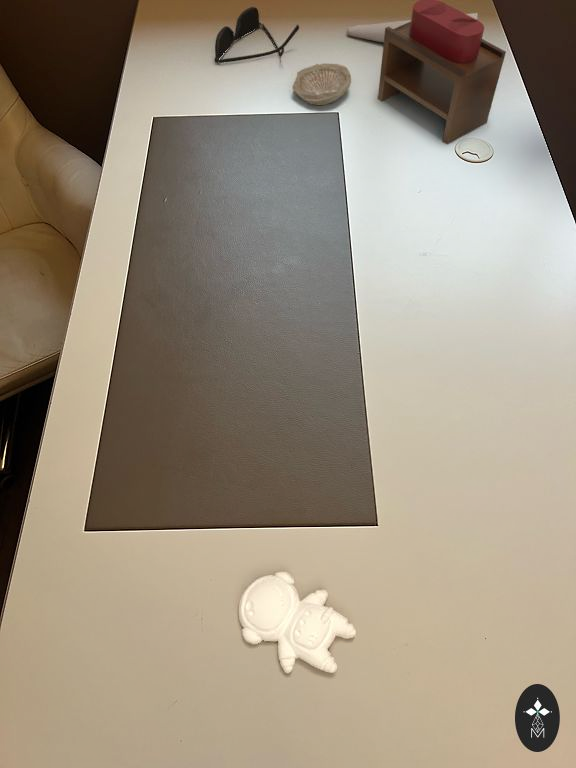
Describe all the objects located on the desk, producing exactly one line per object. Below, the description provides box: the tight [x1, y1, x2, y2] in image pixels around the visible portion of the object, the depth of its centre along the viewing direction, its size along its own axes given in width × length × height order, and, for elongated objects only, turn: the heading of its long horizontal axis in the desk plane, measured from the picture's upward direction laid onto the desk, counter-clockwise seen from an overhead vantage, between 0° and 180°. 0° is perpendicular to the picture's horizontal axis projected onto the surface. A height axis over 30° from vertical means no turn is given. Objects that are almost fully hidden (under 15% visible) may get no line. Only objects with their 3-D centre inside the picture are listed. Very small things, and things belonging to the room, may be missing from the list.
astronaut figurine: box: [238, 571, 357, 674], centre depth 63 cm, size 9×12×3 cm
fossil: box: [292, 63, 352, 106], centre depth 117 cm, size 10×12×3 cm
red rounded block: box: [409, 0, 485, 63], centre depth 102 cm, size 14×6×4 cm, turn 38°
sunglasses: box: [213, 6, 300, 64], centre depth 124 cm, size 17×14×5 cm
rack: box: [377, 22, 507, 145], centre depth 109 cm, size 10×18×13 cm, turn 37°
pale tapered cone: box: [346, 12, 479, 44], centre depth 124 cm, size 8×9×26 cm
